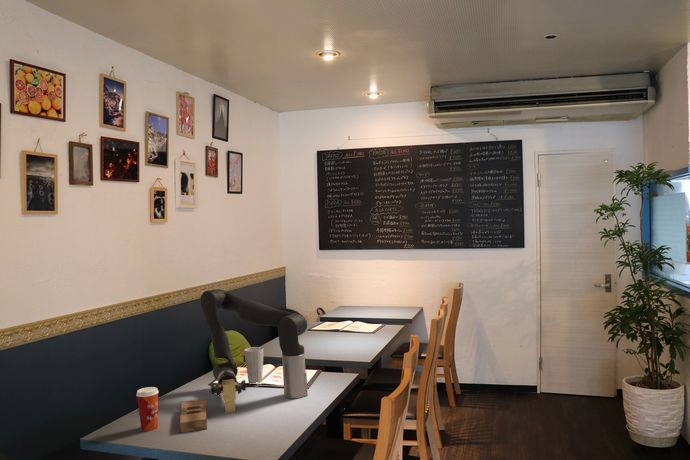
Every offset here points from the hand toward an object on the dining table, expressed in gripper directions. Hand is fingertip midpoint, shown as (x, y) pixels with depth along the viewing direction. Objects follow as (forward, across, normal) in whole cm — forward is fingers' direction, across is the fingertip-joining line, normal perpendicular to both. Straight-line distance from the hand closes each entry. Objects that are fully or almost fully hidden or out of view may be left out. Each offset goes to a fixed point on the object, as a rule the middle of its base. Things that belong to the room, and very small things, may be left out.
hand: (229, 392), depth 218 cm
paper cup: (+6, -29, +8) cm, 31 cm away
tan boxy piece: (-2, 0, +8) cm, 8 cm away
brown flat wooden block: (+3, -14, +8) cm, 16 cm away
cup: (-34, +13, +8) cm, 37 cm away
